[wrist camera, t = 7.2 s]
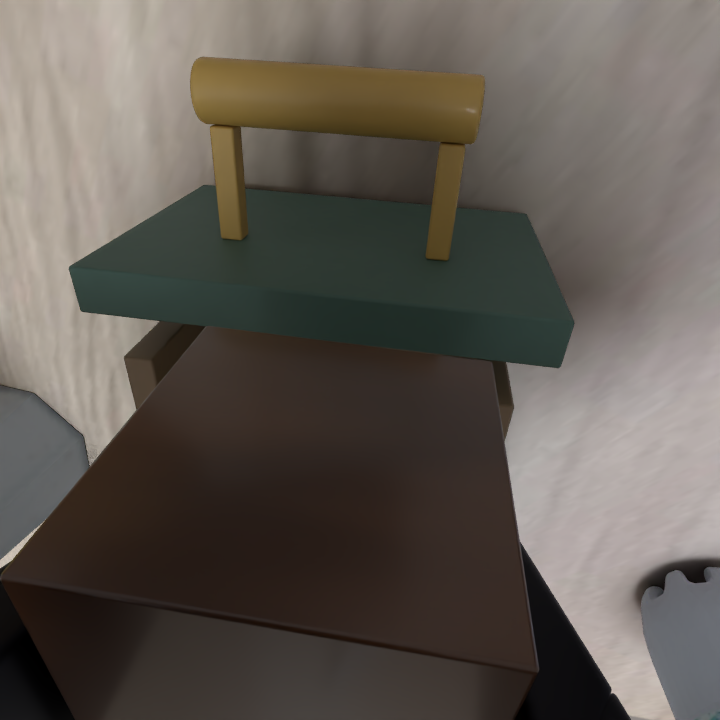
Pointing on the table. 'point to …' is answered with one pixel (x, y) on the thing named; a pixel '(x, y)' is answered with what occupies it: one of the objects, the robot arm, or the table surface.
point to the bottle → (686, 642)
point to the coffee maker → (33, 463)
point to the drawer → (332, 236)
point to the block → (289, 545)
